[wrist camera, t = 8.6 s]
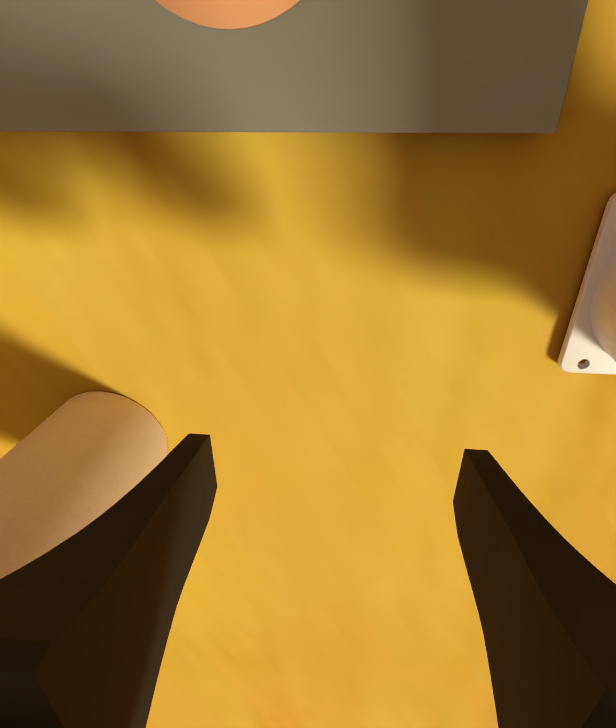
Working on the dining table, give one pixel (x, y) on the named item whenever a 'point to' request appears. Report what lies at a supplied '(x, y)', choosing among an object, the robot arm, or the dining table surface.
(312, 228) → the dining table surface
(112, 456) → the coffee cup
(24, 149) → the dining table surface
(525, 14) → the post board
